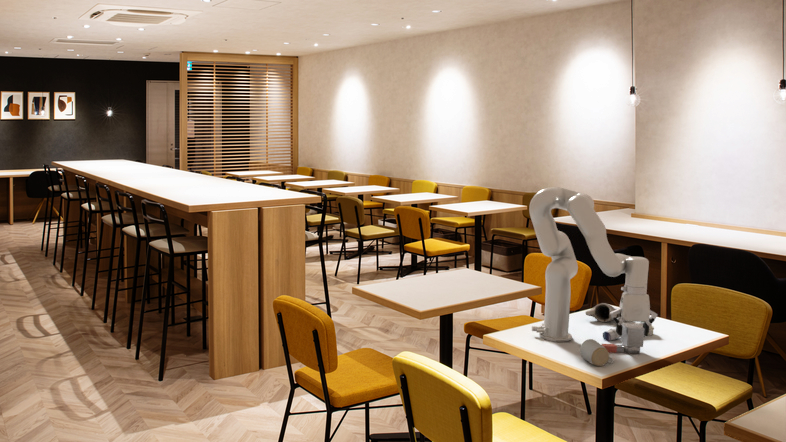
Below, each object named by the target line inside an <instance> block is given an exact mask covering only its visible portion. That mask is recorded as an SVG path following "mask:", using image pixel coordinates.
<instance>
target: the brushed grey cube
mask: <svg viewBox="0 0 786 442" xmlns="http://www.w3.org/2000/svg"><path fill="white" fill-rule="evenodd" d="M621 325H622V326H623V327H622V335H621V337H620V342H621V344H622V343H623V344H624V345H626V346H627V347H640V348H644V339H645V335H644V328H643V327H642V326H640V325H639V324H636V323H627V322H626V323H625V322H623V323H622V324H621Z"/></svg>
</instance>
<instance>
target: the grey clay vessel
mask: <svg viewBox="0 0 786 442" xmlns="http://www.w3.org/2000/svg"><path fill="white" fill-rule="evenodd" d="M616 309H617V308H615V307H613V306H612V305H611V304H609V303H606V302H601V303H598V304H596V305H595V306H593V307H592V308H591V309H589V310H586V311H585V315H586V316H588V317H592V318H594V319H595V320H596V321H598V322H600V323H608V322H612V321H614V320H613V319H612V317H611V315H610V312H612V311H614V310H616ZM616 318H617V319H618V318H619V313H618V314H616Z"/></svg>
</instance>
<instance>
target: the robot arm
mask: <svg viewBox="0 0 786 442" xmlns="http://www.w3.org/2000/svg"><path fill="white" fill-rule="evenodd" d="M528 207H529V209H528V211H529V216H530V217H529V218H530V219H531V222H532V223H531V224H532V225H533V229H534V233H535V236H536V238H537V242H538V246H539V249H540V251H541V253H542V254H543V255H544V256H546V257H548V258H551V262H549V263H548V264H547V267H546V269H545V273H544V275H545V276H544V277H545V297H544V300H545V301H544V303H545V304H544V315H543V316H544V320H543V323H541V325H539V326H533V325H532V326H531V332H536V333H539V337H540V338H542V339H544V340H546V341H551V342H556V343H557V342H559V343H561V342H562V343H563V342H564V343H565V342H569V341H571V340H572V339H573V336H572V334H571V333H570V332H569V327H570V326H569V325H570V313H571V312H570V310H571V309H570V308H571V294H572V293H571V279H573V278H574V277H575V276H576V275H577V274H578V269H579V266H578V262H577V258H576V255H575V252H574V248H573V245H572V243H571V240H570V239H569V236H568V235H567V234H566V233H565V232H563V231H560V230H558V228H557V227H558V226H557V224H556V220H555V218H554V216H553V214H552V210H553V209H560V210H563V211H566V212H568V214H569V215H570V217H571V219H573V221H574V223H575V225H576V226H577V227H578V229H579V231H580V232H581V234H582V235H583V238H584V239H585V242H586V245H587V246H588V247H587V248H588V249H589V252H590V254H591V256H592V258H593V259H594V261H595V262H596V263H597V266H598V267H599V268H600V270H601V271H602V273H603V274H605V275H606V276H608V277H611V278H612V277H613V278H616V277H618V276H620V275H621V274H625V283H624V286H621V288H620V290H621V291H623V292H622V293H621V298H620V302H619V308H615V309H616V310H614V311H612V312H610V315H611V317H612V319H613V320H612V321H614V322H615V324H616V325H615V326H616V327H615V328H616V332H617V334H618V335H619V336H621V335H622V327H623V326H622V323H625V322H635V323H636V322H637V323H640V322H644V324H643V328H644V337H648V336H649V335H648V333H649V326H650V325H651V323H652V324H653V323H654V322H655V320H656V318H657V317H658V313H656V312H655V311H653V310H651V309H650V308H651V304H650V296H649V293H648V292H647V290H648V277H649V264H650V261H649V259H648V258H646V257H643V256H631V255H626V254H624V253H615V252H614V250H613V249H612V247H611V245H610V243H609V241H608V240H609V239H608V237H607V236H608V235H607V228H606V226H605V224H604V222H603V221H602V219H601V218H600V216H599V214H598V213H597V212H596V210H595V201H594V199H593V198H592V197H591V196H590V195H589V194H586V193H584V192H579V191H575V190H572V189H568V188H564V187H560V186H552V187H545V188H543V189H541V190H539V191H538V192H537V193H535V194H534V195H533V197H532V198H531V200H530V202H529V206H528ZM647 293H648V294H647ZM618 313H619V318H616V314H618Z"/></svg>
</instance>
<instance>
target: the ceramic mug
mask: <svg viewBox="0 0 786 442" xmlns="http://www.w3.org/2000/svg"><path fill="white" fill-rule="evenodd" d="M579 353H580V357H581V358H582V359H584V360H586V361H587V362H588V363H590V364H592V365H593V366H596V367H602V366H605V365H606V364H607V363H608V364H613V361H614V359H613V358H612V357H610V353H609V352H608V351H607V349H606V348H605V347H603V346H602V343H599V342H598V341H596V339H593V338H592V339H591V338H588V339H585V340H584V341H583V342H582V343H581V345H580V347H579Z"/></svg>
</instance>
